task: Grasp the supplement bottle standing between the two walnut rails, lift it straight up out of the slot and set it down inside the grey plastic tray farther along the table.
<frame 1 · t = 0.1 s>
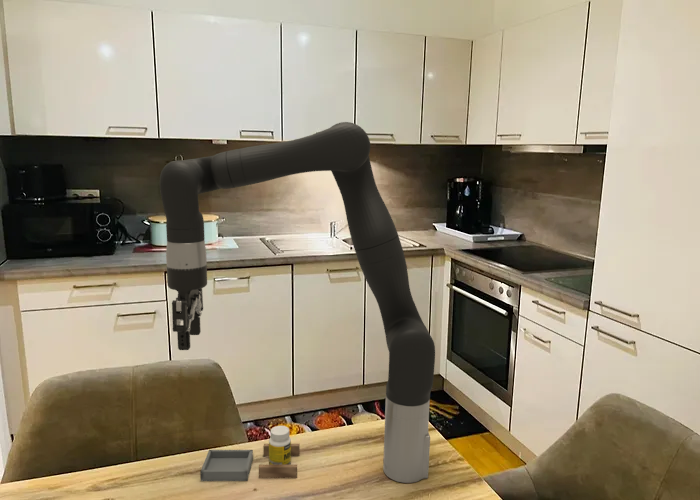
hand: (189, 341, 105), 29 cm above the table, tool pointing down, fingers open, 8 cm apart
slot rails: (279, 465, 114), on the table
tray: (227, 469, 112), on the table
supplement bottle: (279, 466, 114), on the table
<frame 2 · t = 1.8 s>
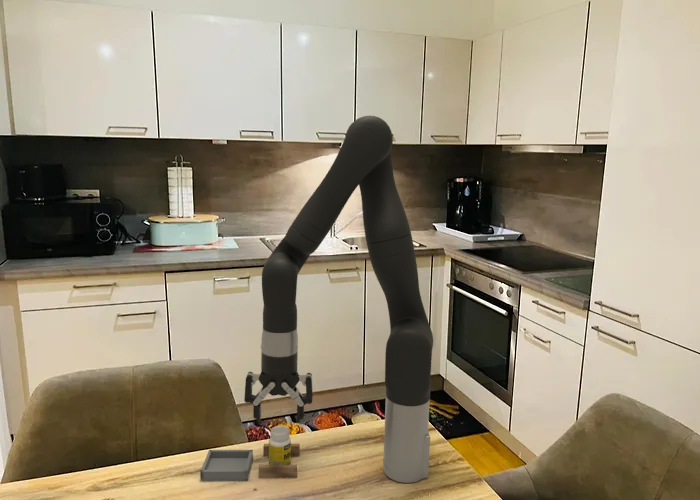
hand: (278, 419, 112), 11 cm above the table, tool pointing down, fingers open, 8 cm apart
nothing on the table moved.
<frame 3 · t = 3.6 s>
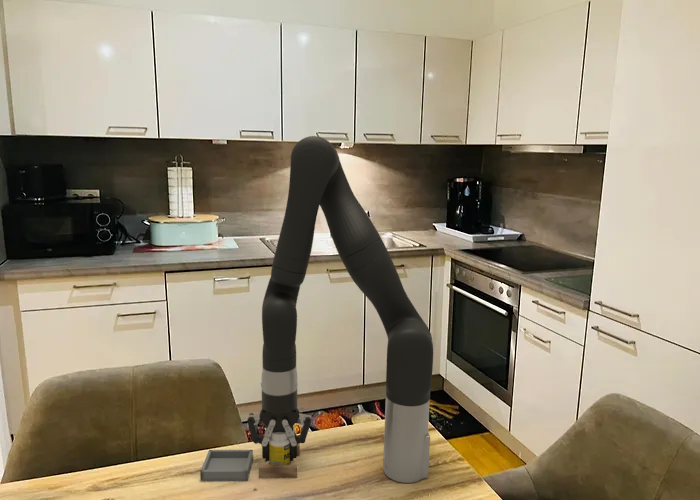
hand: (279, 458, 113), 2 cm above the table, tool pointing down, fingers closed on supplement bottle, 4 cm apart
supplement bottle: (279, 466, 114), on the table, touching gripper
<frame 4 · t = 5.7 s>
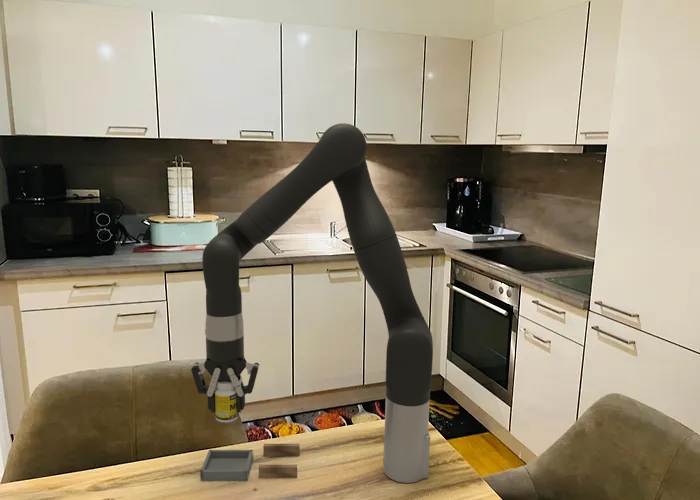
hand: (226, 410, 109), 14 cm above the table, tool pointing down, fingers closed on supplement bottle, 4 cm apart
supplement bottle: (227, 418, 110), point 12 cm above the table, touching gripper
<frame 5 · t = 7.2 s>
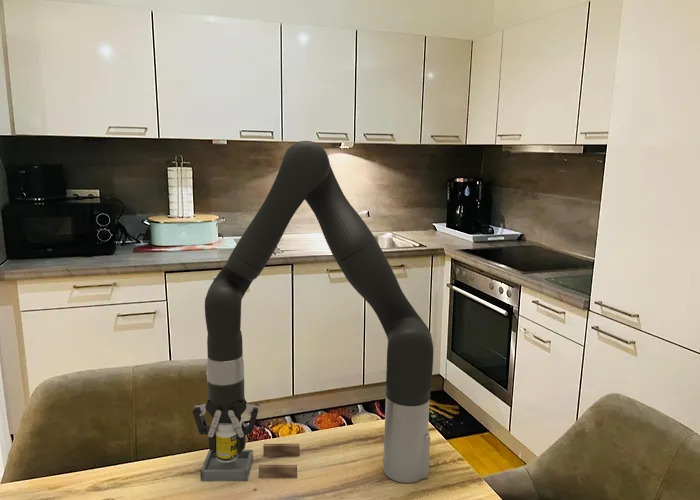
hand: (227, 450, 111), 4 cm above the table, tool pointing down, fingers closed on supplement bottle, 4 cm apart
supplement bottle: (227, 457, 111), point 3 cm above the table, touching gripper
when the fingers open (4 cm above the table, at t = 8.2 s): supplement bottle drops 2 cm, resting on tray.
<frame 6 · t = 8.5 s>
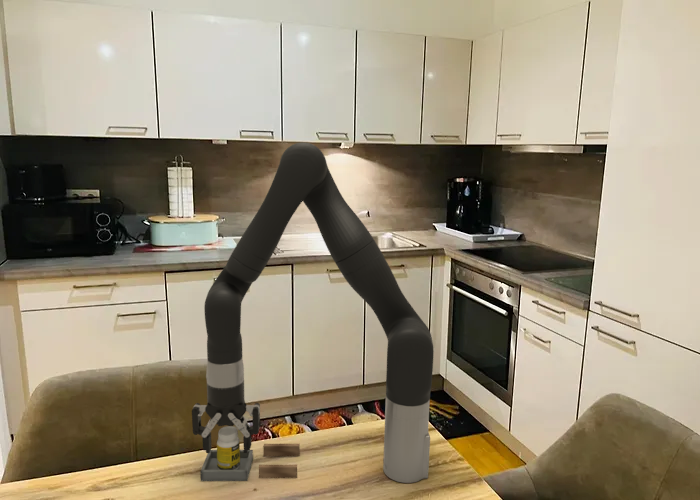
hand: (227, 450, 111), 4 cm above the table, tool pointing down, fingers open, 7 cm apart
supplement bottle: (228, 467, 112), resting on tray
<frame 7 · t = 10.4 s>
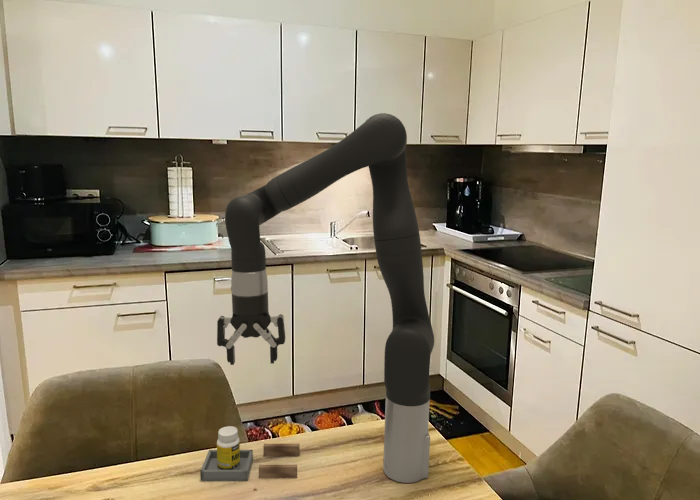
hand: (252, 362, 113), 22 cm above the table, tool pointing down, fingers open, 8 cm apart
nothing on the table moved.
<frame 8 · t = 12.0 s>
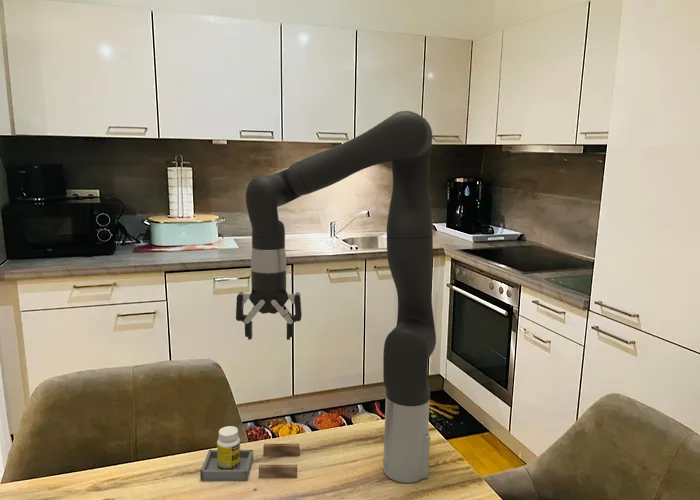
hand: (269, 338, 117), 26 cm above the table, tool pointing down, fingers open, 8 cm apart
nothing on the table moved.
at the end: supplement bottle inside the target area on the tray (0.2 cm from its centre), point 0.4 cm above the tray's base; supplement bottle tilted 0°; the gripper is holding nothing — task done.
